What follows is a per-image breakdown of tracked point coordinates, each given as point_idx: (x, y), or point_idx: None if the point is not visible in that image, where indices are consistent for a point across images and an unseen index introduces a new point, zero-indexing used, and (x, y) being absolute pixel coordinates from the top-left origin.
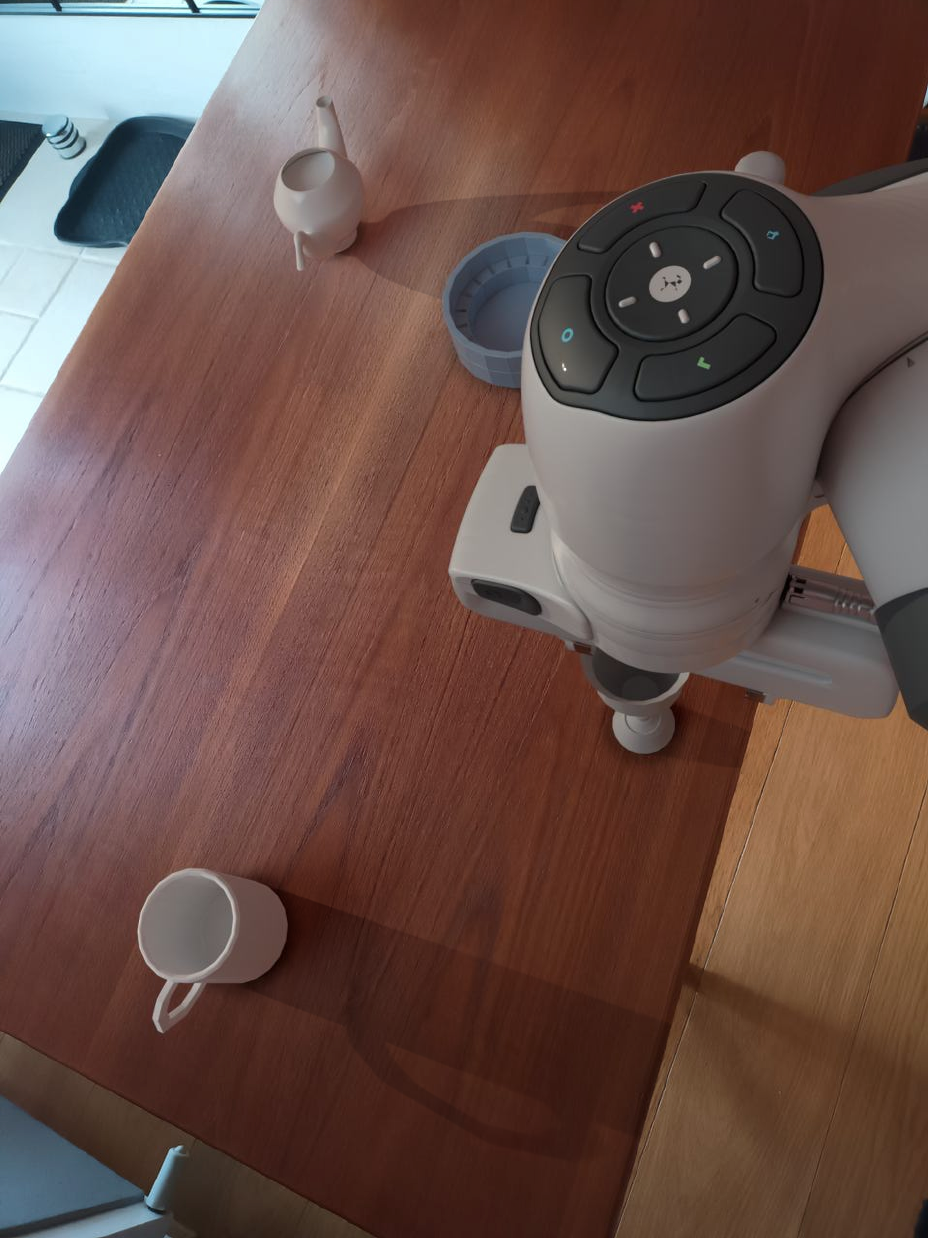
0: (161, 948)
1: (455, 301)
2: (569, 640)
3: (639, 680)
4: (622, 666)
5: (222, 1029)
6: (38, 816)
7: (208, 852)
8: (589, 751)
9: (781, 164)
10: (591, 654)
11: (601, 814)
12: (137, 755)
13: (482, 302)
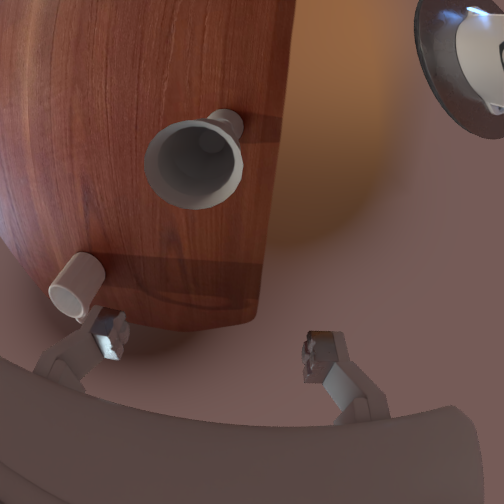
0: (66, 301)
1: None
2: (96, 363)
3: (209, 132)
4: (193, 132)
5: (103, 296)
6: (15, 248)
7: (61, 245)
8: None
9: None
10: (126, 341)
11: None
12: (21, 218)
13: None
